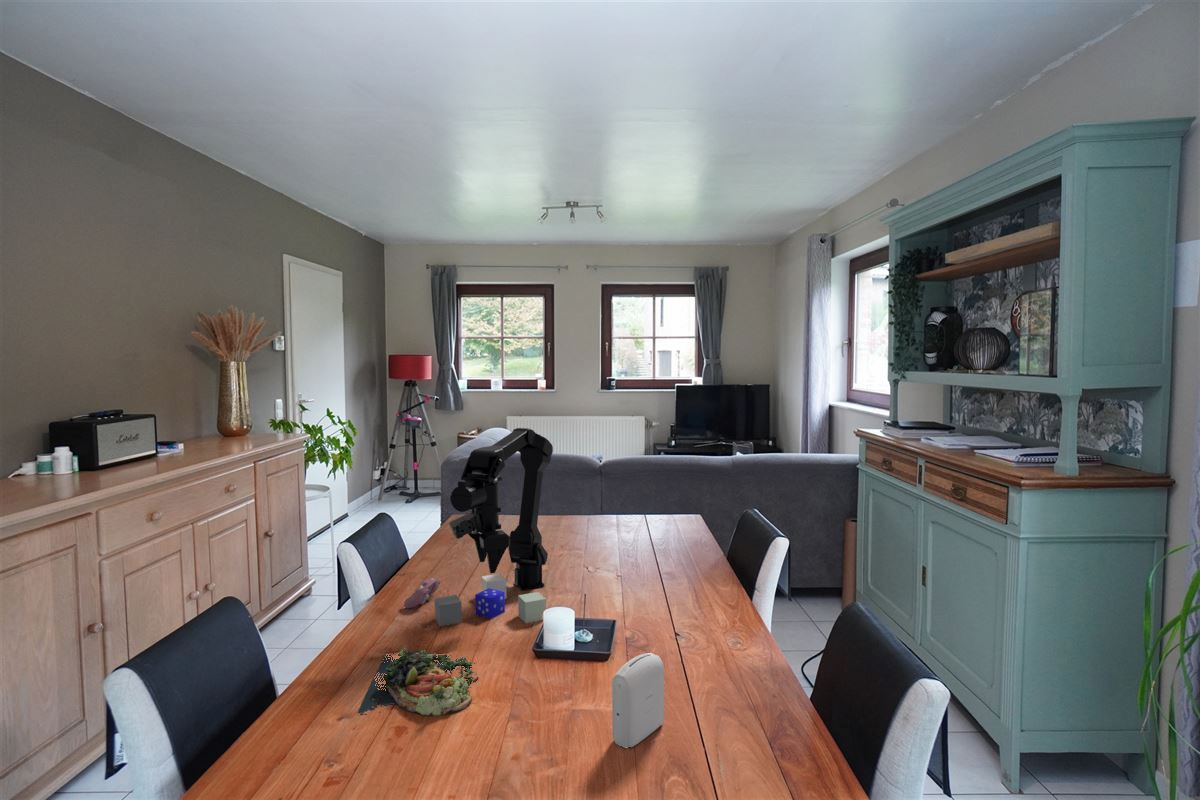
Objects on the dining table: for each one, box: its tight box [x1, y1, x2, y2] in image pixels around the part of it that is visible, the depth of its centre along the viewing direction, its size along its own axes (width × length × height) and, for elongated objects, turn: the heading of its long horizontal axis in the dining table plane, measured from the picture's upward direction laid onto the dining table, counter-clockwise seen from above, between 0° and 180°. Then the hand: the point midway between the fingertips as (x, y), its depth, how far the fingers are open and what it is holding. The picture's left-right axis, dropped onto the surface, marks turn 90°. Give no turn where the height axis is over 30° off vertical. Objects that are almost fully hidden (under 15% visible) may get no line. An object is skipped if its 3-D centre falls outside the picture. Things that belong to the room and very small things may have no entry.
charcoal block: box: [434, 594, 463, 627], centre depth 149 cm, size 5×5×5 cm
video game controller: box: [403, 577, 441, 609], centre depth 161 cm, size 10×5×7 cm, turn 169°
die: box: [474, 588, 506, 620], centre depth 154 cm, size 5×5×5 cm
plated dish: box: [356, 647, 480, 717], centre depth 120 cm, size 35×28×7 cm
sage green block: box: [517, 591, 547, 624], centre depth 151 cm, size 5×5×5 cm
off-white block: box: [481, 573, 508, 599], centre depth 165 cm, size 5×5×5 cm
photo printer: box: [611, 652, 665, 748], centre depth 104 cm, size 10×4×12 cm, turn 140°
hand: (487, 567), depth 154 cm, fingers open, 9 cm apart
